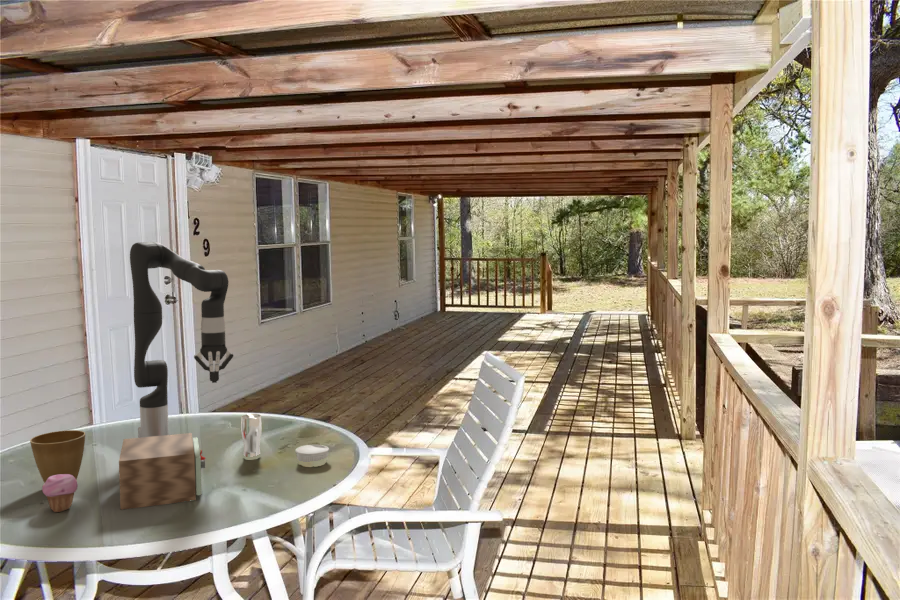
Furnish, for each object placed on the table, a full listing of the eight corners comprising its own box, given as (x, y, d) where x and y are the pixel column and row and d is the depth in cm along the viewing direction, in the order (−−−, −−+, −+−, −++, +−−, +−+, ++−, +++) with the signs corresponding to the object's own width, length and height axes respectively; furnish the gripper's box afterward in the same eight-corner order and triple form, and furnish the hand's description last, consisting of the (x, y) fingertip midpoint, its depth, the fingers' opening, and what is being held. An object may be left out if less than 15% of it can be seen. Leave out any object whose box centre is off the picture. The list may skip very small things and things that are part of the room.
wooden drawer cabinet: (192, 475, 230) (191, 432, 229) (195, 500, 208) (194, 453, 207) (125, 482, 223) (123, 439, 221) (120, 509, 200) (118, 461, 199)
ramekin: (334, 460, 246) (334, 445, 246) (320, 470, 236) (320, 454, 235) (305, 457, 249) (305, 443, 249) (289, 467, 239) (289, 452, 238)
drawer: (203, 470, 231) (202, 436, 230) (207, 494, 209) (206, 456, 208) (131, 478, 223) (130, 443, 222) (128, 503, 201) (126, 465, 201)
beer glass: (265, 455, 251) (264, 413, 250) (258, 461, 245) (257, 418, 243) (246, 454, 252) (245, 413, 251) (238, 460, 245) (237, 418, 244)
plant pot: (74, 475, 229) (72, 427, 228) (96, 486, 220) (94, 435, 218) (24, 488, 218) (21, 437, 216) (44, 499, 208) (41, 446, 207)
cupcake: (39, 508, 201) (37, 474, 200) (72, 501, 207) (71, 467, 206) (48, 517, 194) (47, 482, 194) (83, 509, 201) (81, 474, 200)
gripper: (192, 332, 228) (193, 386, 229) (235, 331, 233) (236, 383, 234) (191, 330, 235) (192, 381, 236) (233, 328, 240) (234, 378, 241)
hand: (214, 382), depth 235 cm, fingers closed
